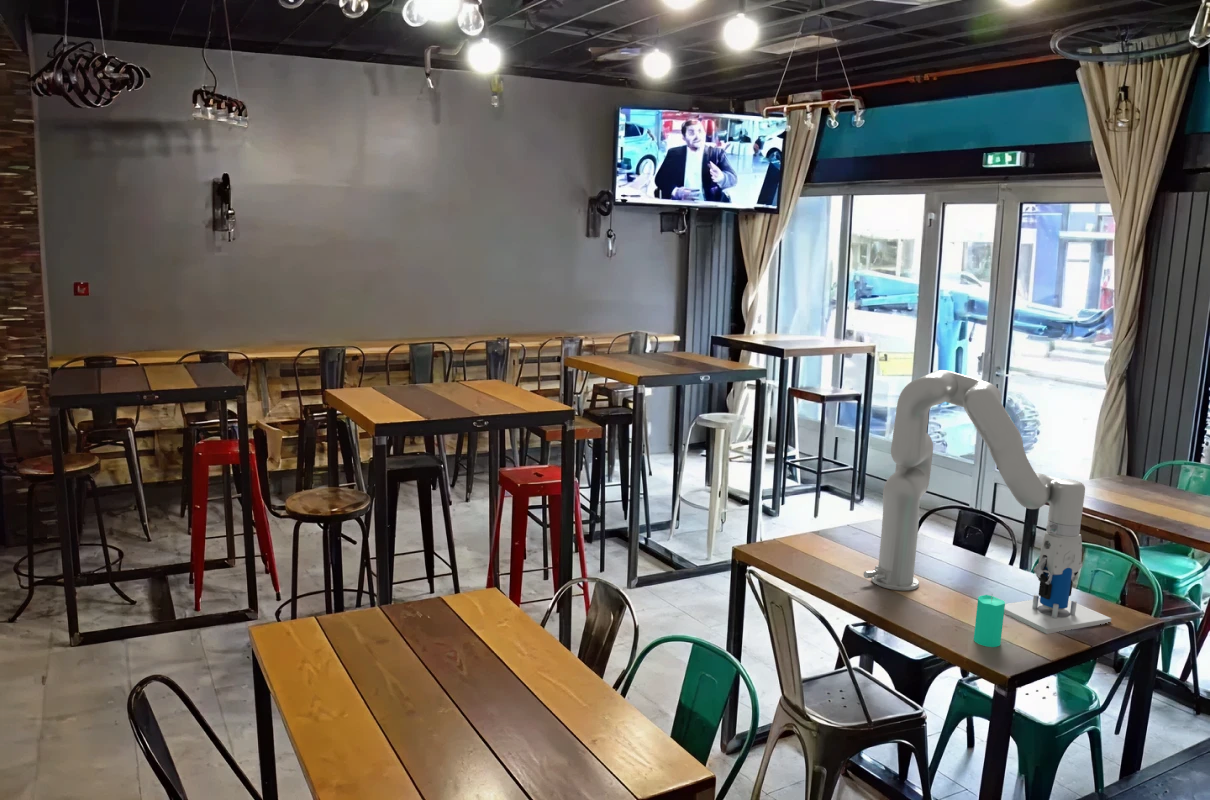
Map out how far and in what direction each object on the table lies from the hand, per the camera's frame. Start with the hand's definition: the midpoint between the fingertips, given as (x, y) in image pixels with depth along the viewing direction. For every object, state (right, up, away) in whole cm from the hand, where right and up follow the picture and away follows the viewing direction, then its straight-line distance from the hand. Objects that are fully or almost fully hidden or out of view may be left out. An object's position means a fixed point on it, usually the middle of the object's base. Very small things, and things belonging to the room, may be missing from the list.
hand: (1054, 595), depth 241 cm
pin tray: (0, -5, +1) cm, 6 cm away
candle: (-24, -8, -17) cm, 30 cm away
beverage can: (0, -3, 0) cm, 3 cm away
